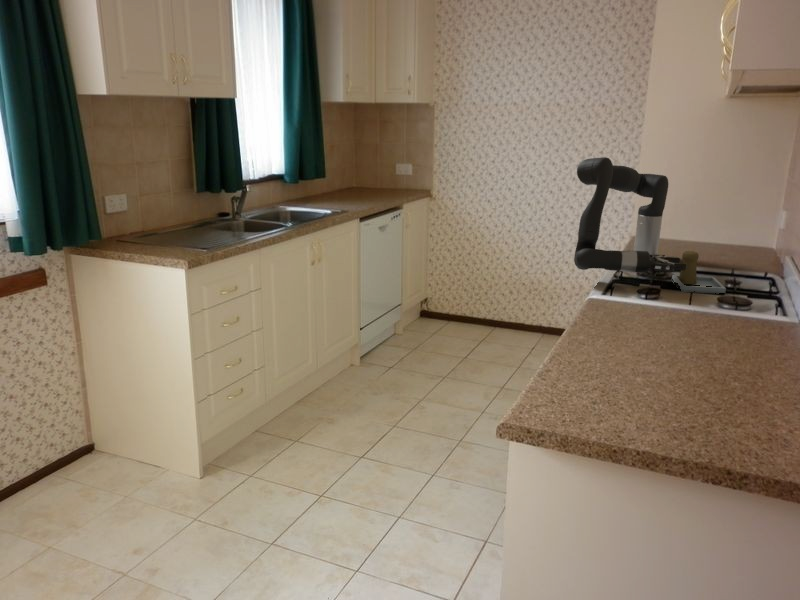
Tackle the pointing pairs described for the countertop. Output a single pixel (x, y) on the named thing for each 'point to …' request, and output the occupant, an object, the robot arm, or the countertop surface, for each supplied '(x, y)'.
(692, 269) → the cork
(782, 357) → the countertop surface
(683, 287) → the tray
